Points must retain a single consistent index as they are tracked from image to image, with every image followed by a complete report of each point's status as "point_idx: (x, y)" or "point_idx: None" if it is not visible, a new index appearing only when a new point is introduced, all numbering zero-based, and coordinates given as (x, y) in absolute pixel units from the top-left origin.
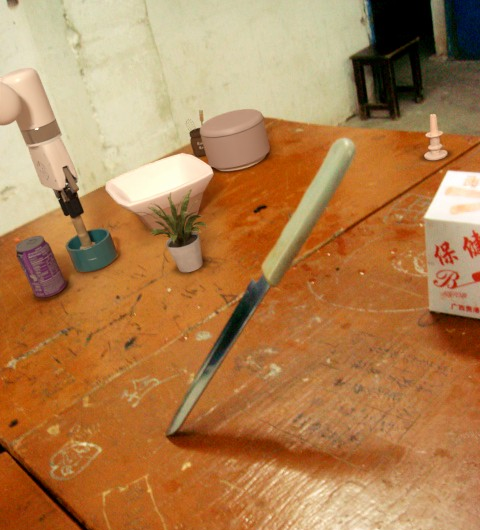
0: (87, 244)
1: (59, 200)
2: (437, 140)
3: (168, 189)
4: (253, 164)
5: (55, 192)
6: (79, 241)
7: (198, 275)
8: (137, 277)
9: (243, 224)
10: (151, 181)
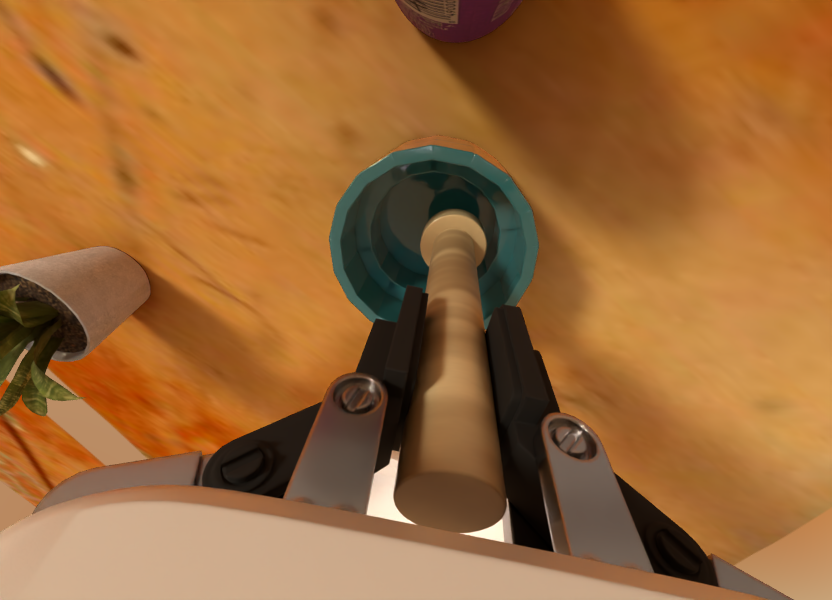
0: (435, 243)
1: (524, 395)
2: None
3: None
4: None
5: (583, 485)
6: (516, 261)
7: (51, 243)
8: (196, 184)
9: (200, 430)
10: None
